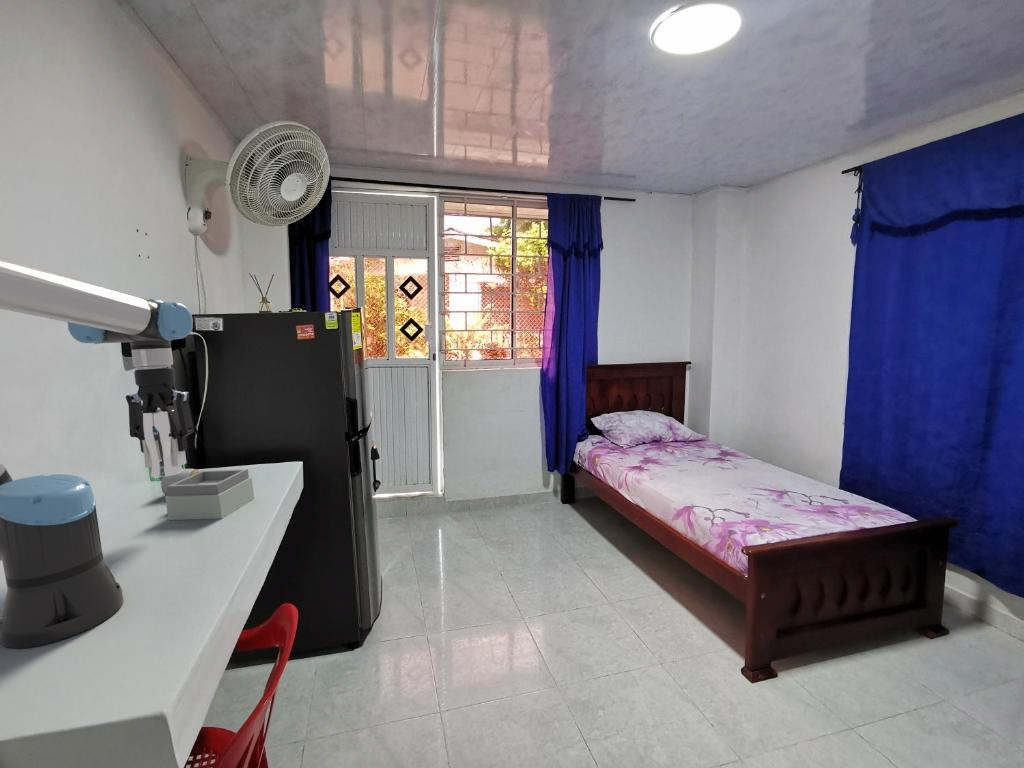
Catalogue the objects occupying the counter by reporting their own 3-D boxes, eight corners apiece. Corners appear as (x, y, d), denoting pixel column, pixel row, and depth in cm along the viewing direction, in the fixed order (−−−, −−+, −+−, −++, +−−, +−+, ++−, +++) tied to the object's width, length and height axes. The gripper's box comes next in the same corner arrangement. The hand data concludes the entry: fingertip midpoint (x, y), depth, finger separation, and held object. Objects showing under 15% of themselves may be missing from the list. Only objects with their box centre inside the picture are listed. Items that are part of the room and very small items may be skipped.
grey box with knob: (222, 518, 123) (217, 485, 122) (156, 520, 124) (152, 487, 123) (254, 498, 137) (250, 468, 136) (195, 500, 138) (191, 470, 137)
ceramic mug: (192, 497, 141) (189, 470, 141) (162, 499, 140) (158, 473, 140) (210, 485, 152) (207, 461, 151) (181, 488, 151) (178, 463, 150)
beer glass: (180, 475, 115) (173, 411, 113) (144, 479, 112) (136, 414, 111) (187, 468, 121) (180, 407, 120) (154, 472, 119) (146, 410, 117)
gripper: (205, 364, 117) (216, 459, 120) (127, 368, 119) (139, 462, 121) (182, 366, 110) (194, 468, 112) (99, 370, 111) (113, 471, 113)
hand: (166, 465), depth 117 cm, fingers closed on beer glass, 6 cm apart
